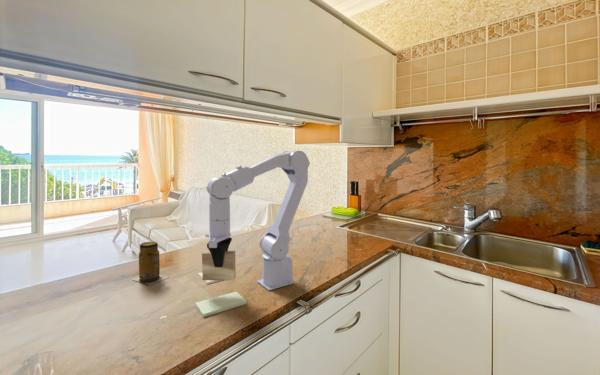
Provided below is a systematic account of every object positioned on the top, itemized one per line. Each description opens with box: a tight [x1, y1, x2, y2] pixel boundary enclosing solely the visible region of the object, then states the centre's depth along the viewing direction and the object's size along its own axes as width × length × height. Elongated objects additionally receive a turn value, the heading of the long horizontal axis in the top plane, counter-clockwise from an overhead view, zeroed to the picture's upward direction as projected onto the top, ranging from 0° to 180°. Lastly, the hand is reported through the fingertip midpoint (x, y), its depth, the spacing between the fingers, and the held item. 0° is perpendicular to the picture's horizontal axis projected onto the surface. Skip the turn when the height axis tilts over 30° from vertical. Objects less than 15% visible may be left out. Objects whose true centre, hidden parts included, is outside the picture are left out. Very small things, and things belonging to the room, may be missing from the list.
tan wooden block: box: [201, 250, 237, 282], centre depth 81 cm, size 2×9×8 cm, turn 90°
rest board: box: [194, 291, 248, 318], centre depth 77 cm, size 12×7×1 cm, turn 126°
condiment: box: [132, 241, 169, 286], centre depth 92 cm, size 7×8×12 cm
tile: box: [197, 272, 219, 285], centre depth 95 cm, size 6×1×9 cm
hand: (220, 264), depth 81 cm, fingers closed on tan wooden block, 2 cm apart
